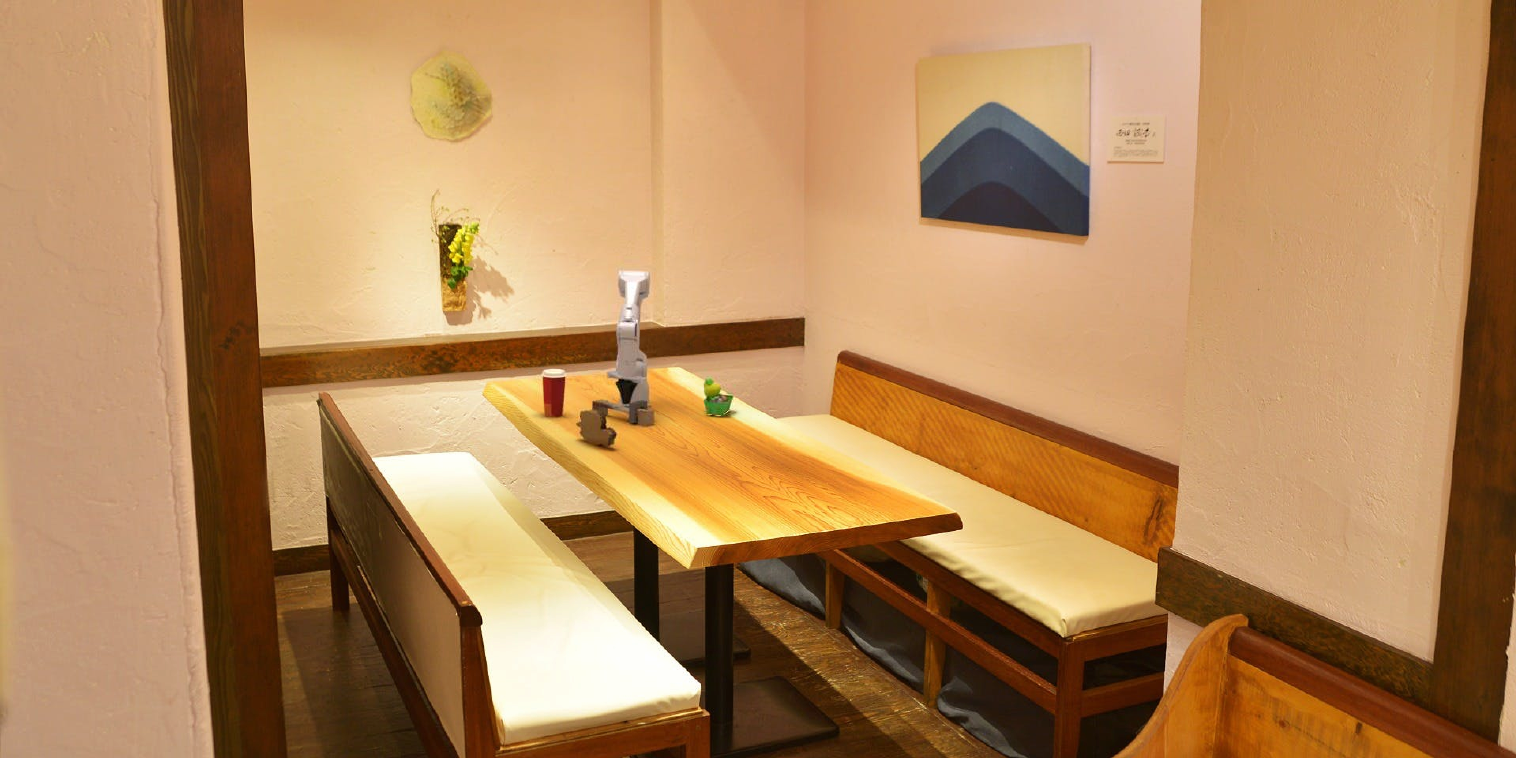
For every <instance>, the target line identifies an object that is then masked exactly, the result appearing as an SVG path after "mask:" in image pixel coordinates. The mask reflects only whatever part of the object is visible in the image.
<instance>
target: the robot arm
mask: <svg viewBox="0 0 1516 758" xmlns="http://www.w3.org/2000/svg"><path fill="white" fill-rule="evenodd" d="M617 281H618V282H617V285H618V291H619V292H618V293H619V294H620V297H622V298H624V300H625V301H624V302H625V303H624V304H623V305H622V306H621V308H620V314H619V322H618V323H617V324H616V341H617V342H616V346H617V356H616V362H615V363H616V364H615V371H614V370H609V371H607V372H606V373H607V375H606V377H607V378H608V379H616V380H617V381H615V386H616V387H617V390H618V391H619V404H620V405H625V406H629V403H632V402H636V401H641V400H644V401H647V408H648V407H651V406H652V404H650V384H649V382H648V379H647V378H648V377H647V376H648V357H647V355H646V354H645V353H644V352H643V351H642V350H641V349H640V335H641V334H640V333H641V331H640V330H641V315H642V314H641V308H642V303H643V301H644V299H647V298H649V295H650V288H651V287H650V284H651V282H650V281H651V274H650V272H649V270H646V271H645V270H644V271H642V270H623V269H621V270H619V272H618V280H617Z"/></svg>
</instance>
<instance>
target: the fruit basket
mask: <svg viewBox="0 0 1516 758" xmlns="http://www.w3.org/2000/svg"><path fill="white" fill-rule="evenodd" d="M703 388H704V390H703V392H704V395H705V397H706V398H704V400H703V403H704V407H705V410H706V411H705V412H706V415H707V414H712V415H721V416H723V415H724V413H726V412H727V411H728V410H729V411H730V409H731V406H732V402H733V399H734V395H731V394H723V393H721V390H722V387H721V386H720V385H719V384H718V383H717V382H716V381H715V380H713V379H712V378H711V377H710V378H709V377H708V378H705V380H704V383H703ZM729 411H728V412H729ZM728 412H727V413H728ZM727 413H726V414H727ZM724 416H725V415H724ZM724 416H723V417H724Z"/></svg>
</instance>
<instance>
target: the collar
mask: <svg viewBox="0 0 1516 758" xmlns="http://www.w3.org/2000/svg"><path fill="white" fill-rule="evenodd" d="M637 408H641V409H644V410H645V409H648V407H647V401H644V400H641V401H636V402H632V403H629V413H628V423H631V424H638V415H637Z"/></svg>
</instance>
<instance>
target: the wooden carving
mask: <svg viewBox="0 0 1516 758" xmlns="http://www.w3.org/2000/svg"><path fill="white" fill-rule="evenodd" d="M579 418H580V421H578V422H576V423H575V424H576V426H577V427H578V428H580V431H579V434H580V436H581V437H582V438H583V439H584V440H585V441H586V442H587V443H589V444H590V443H591V444H590V445H594V446H599V445H601V444H602V446H604V447H611V446H612V445H615V439H616V438H617V435H618V434H617V432H616V430H615V429H614V428H612V427H609V426H608V427H607V421H608V420H607V417H606V415H602V414H601V413H600V412H598V411H597V410H592V409H589V410H586V409H585V410H581V411H580V413H579Z"/></svg>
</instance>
